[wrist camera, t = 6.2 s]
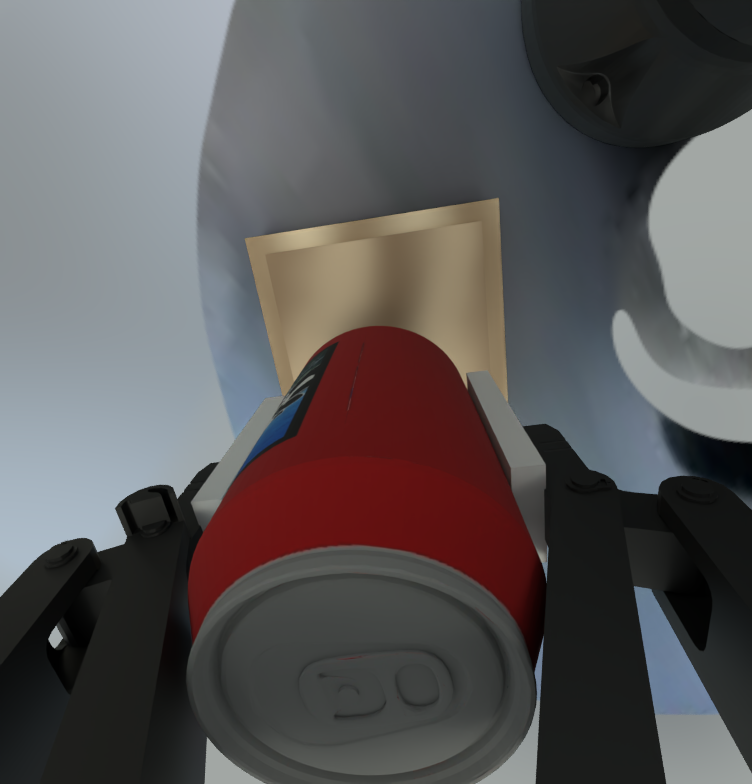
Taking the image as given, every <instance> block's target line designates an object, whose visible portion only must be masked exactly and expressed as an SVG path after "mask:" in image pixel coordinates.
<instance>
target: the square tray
mask: <svg viewBox="0 0 752 784" xmlns="http://www.w3.org/2000/svg"><path fill="white" fill-rule="evenodd" d="M245 242H246V246H247V250H248V254H249V258H250V262H251V267H252V271H253V275H254V279H255V283H256V287H257V292H258V296H259V300H260V304H261V308H262V312H263V316H264V321H265V325H266V329H267V333H268V337H269V341H270V346H271V350H272V354H273V358H274V362H275V366H276V371H277V375H278V379H279V383H280V387H281V391H282V396H286V394H287V393H288V391H289V389H290V388H291V386H292V385H293V383H294V382H295V380H296V379H297V377H298V376H299V374H300V372H301V371H302V369H303V368H304V366H305V365H306V363H307V362H308V361H309V359H310V358H311V357H312V356H313V354H314V353H315V352H316V351H317V350H318V349H319V348H320V347H322V346H323V345H324V344H325V343H327V342H328V341H330V340H331V339H333V338H335V337H336V336H338V335H340V334H342V333H345V332H347V331H350V330H353V329H357V328H361V327H368V326H392V327H397V328H402V329H406V330H409V331H412V332H415V333H417V334H419V335H421V336H423V337H425V338H427V339H428V340H430V341H431V342H433V343H434V344H436V345H437V346H438V347H439V348H440V349H442V350H443V351H444V352H445V353H446V354H447V355H448V357H449V358H450V359H451V360H452V362H453V363H454V365H455V366H456V368H457V370H458V372H459V373H460V375H461V378H462V380H463V382H464V384H465V386H466V388H467V376H466V373H469V372H477V371H485V370H488V372H489V373H490V375H491V377H492V378H493V380H494V381H495V383H496V385H497V386H498V388H499V390H500V391H501V393H502V394H503V396H504V398H505V399H506V401H507V403H508V394H507V371H506V349H505V327H504V305H503V282H502V260H501V238H500V216H499V198H496V199H489V200H483V201H477V202H470V203H464V204H458V205H452V206H445V207H439V208H433V209H427V210H420V211H414V212H408V213H401V214H395V215H389V216H383V217H376V218H370V219H364V220H358V221H351V222H345V223H339V224H332V225H326V226H320V227H314V228H307V229H301V230H295V231H289V232H282V233H276V234H270V235H263V236H257V237H251V238H245ZM467 390H468V389H467Z"/></svg>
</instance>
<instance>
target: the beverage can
mask: <svg viewBox="0 0 752 784" xmlns="http://www.w3.org/2000/svg"><path fill="white" fill-rule="evenodd" d="M546 588H547V583H546V576H545V573H544V569H543V566H542V563H541V560H540V558H539V555H538V553H537V551H536V548H535V546H534V543H533V541H532V538H531V536H530V534H529V531H528V529H527V526H526V524H525V522H524V519H523V517H522V514H521V512H520V510H519V507H518V505H517V502H516V500H515V498H514V495H513V493H512V490H511V488H510V485H509V483H508V481H507V478H506V476H505V474H504V471H503V469H502V467H501V464H500V462H499V460H498V457H497V455H496V453H495V450H494V448H493V446H492V443H491V441H490V439H489V437H488V434H487V432H486V430H485V427H484V425H483V423H482V421H481V419H480V416H479V414H478V412H477V410H476V407H475V405H474V403H473V401H472V399H471V396H470V394H469V392H468V390H467V388H466V386H465V384H464V382H463V380H462V378H461V375H460V373H459V372H458V370H457V368H456V366H455V365H454V363H453V362H452V360H451V359H450V358H449V357H448V355H447V354H446V353H445V352H444V351H443V350H442V349H440V348H439V347H438V346H437V345H436V344H434V343H433V342H431V341H430V340H428V339H427V338H425V337H423V336H421V335H419V334H417V333H415V332H412V331H409V330H406V329H402V328H397V327H392V326H368V327H361V328H357V329H353V330H350V331H347V332H345V333H342V334H340V335H338V336H336V337H335V338H333V339H331V340H330V341H328V342H327V343H325V344H324V345H323V346H322V347H320V348H319V349H318V350H317V351H316V352H315V353H314V354H313V356H312V357H311V358H310V359H309V361H308V362H307V363H306V365H305V366H304V368H303V369H302V371H301V372H300V374H299V376H298V377H297V379H296V380H295V382H294V383H293V385H292V386H291V388H290V389H289V391H288V393H287V394H286V396H285V397H284V399H283V400H282V402H281V404H280V405H279V407H278V408H277V410H276V411H275V413H274V415H273V416H272V418H271V420H270V421H269V423H268V425H267V426H266V428H265V429H264V431H263V433H262V434H261V436H260V438H259V439H258V441H257V443H256V444H255V446H254V447H253V449H252V451H251V452H250V454H249V456H248V457H247V459H246V461H245V462H244V464H243V466H242V467H241V469H240V471H239V472H238V474H237V476H236V478H235V479H234V481H233V483H232V484H231V486H230V488H229V489H228V491H227V493H226V495H225V496H224V498H223V500H222V501H221V503H220V505H219V506H218V508H217V510H216V512H215V513H214V515H213V517H212V518H211V520H210V522H209V523H208V525H207V527H206V529H205V530H204V532H203V534H202V536H201V538H200V540H199V541H198V544H197V546H196V549H195V551H194V554H193V558H192V561H191V565H190V572H189V579H188V606H189V616H190V626H191V636H192V648H191V652H190V655H189V659H188V665H187V676H186V684H187V692H188V697H189V701H190V705H191V708H192V711H193V713H194V715H195V717H196V719H197V721H198V723H199V725H200V727H201V728H202V730H203V732H204V733H205V734H206V736H207V737H208V738H209V739H210V741H211V742H212V743H213V744H214V746H215V747H216V748H217V749H218V750H219V751H220V752H221V753H222V754H223V755H224V756H225V757H227V758H228V759H229V760H230V761H231V762H233V763H234V764H235V765H236V766H238V767H239V768H241V769H242V770H243V771H245V772H247V773H248V774H250V775H251V776H253V777H255V778H257V779H258V780H260V781H262V782H264V783H266V784H475V783H477V782H479V781H481V780H482V779H484V778H485V777H487V776H488V775H490V774H491V773H493V772H494V771H495V770H497V769H498V768H499V767H500V766H501V765H502V764H503V763H505V762H506V761H507V760H508V759H509V758H510V757H511V756H512V754H514V752H515V751H516V750H517V748H518V747H519V745H520V744H521V742H522V741H523V740H524V738H525V736H526V734H527V732H528V730H529V728H530V726H531V723H532V720H533V716H534V712H535V708H536V699H537V688H536V679H535V674H534V672H535V668H536V664H537V660H538V656H539V652H540V648H541V644H542V640H543V636H544V624H545V606H546Z"/></svg>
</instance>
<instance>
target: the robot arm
mask: <svg viewBox="0 0 752 784" xmlns="http://www.w3.org/2000/svg"><path fill="white" fill-rule="evenodd" d="M522 27H523V35H524V41H525V46H526V51H527V55H528V58H529V62H530V65H531V68H532V71H533V73H534V75H535V78H536V80H537V82H538V84H539V86H540V88H541V90H542V92H543V93H544V95H545V96H546V98H547V100H548V101H549V102H550V104H551V105H552V106H553V108H554V109H555V110H556V111H557V112H558V113H559V114H560V115H561V116H562V117H563V118H564V119H565V120H566V121H567V122H568V123H569V124H571V125H572V126H573V127H574V128H576V129H577V130H579V131H580V132H582V133H584V134H586V135H588V136H589V137H591V138H594V139H596V140H599V141H601V142H604V143H608V144H611V145H616V146H622V147H634V148H641V147H654V146H660V145H665V144H670V143H673V142H677V141H681V140H684V139H688V138H691V137H695V136H698V135H701V134H704V133H707V132H709V131H712V130H714V129H716V128H719V127H721V126H723V125H725V124H727V123H728V122H731V121H732V120H734V119H736V118H738V117H740V116H741V115H743V114H745V113H746V112H748V111H749V110H751V109H752V0H522ZM466 376H467V389H468V392H469V394H470V396H471V399H472V401H473V403H474V405H475V407H476V410H477V412H478V414H479V416H480V419H481V421H482V423H483V425H484V427H485V430H486V432H487V434H488V437H489V439H490V441H491V443H492V446H493V448H494V450H495V453H496V455H497V457H498V460H499V462H500V464H501V467H502V469H503V471H504V474H505V476H506V478H507V481H508V483H509V485H510V488H511V490H512V493H513V495H514V498H515V500H516V502H517V505H518V507H519V510H520V512H521V514H522V517H523V519H524V522H525V524H526V526H527V529H528V531H529V534H530V536H531V538H532V541H533V543H534V546H535V548H536V551H537V553H538V555H539V558H540V560H541V562H547V545H548V547H549V552H548V570H547V588H546V606H545V624H544V642H543V661H542V679H541V697H540V715H539V716H540V717H539V733H538V751H537V769H536V784H666V779H665V773H664V767H663V761H662V755H661V749H660V743H659V737H658V731H657V725H656V719H655V713H654V707H653V701H652V695H651V689H650V683H649V676H648V670H647V664H646V658H645V652H644V646H643V640H642V634H641V628H640V622H639V616H638V610H637V604H636V598H635V592H634V586H637V587H643V588H650V589H652V592H653V594H654V596H655V598H656V599H657V601H658V603H659V605H660V607H661V609H662V610H663V612H664V614H665V616H666V618H667V620H668V621H669V623H670V625H671V627H672V629H673V630H674V632H675V634H676V636H677V638H678V640H679V641H680V643H681V645H682V647H683V649H684V650H685V652H686V654H687V656H688V658H689V660H690V661H691V663H692V665H693V667H694V669H695V670H696V672H697V674H698V676H699V678H700V680H701V681H702V683H703V685H704V687H705V689H706V691H707V692H708V694H709V696H710V698H711V700H712V701H713V703H714V705H715V707H716V709H717V711H718V712H719V714H720V716H721V718H722V720H723V721H724V723H725V725H726V727H727V729H728V730H729V732H730V734H731V736H732V738H733V739H734V741H735V743H736V745H737V747H738V749H739V750H740V752H741V754H742V756H743V758H744V760H745V761H746V763H747V765H748V767H749V769H750V770H751V772H752V510H751V509H750V508H749V507H748V506H747V505H746V504H745V503H744V502H743V501H742V500H741V499H740V498H739V497H738V496H737V495H736V494H735V493H733V492H732V491H731V490H729V489H728V488H727V487H725V486H724V485H722V484H719V483H717V482H714V481H712V480H709V479H706V478H700V477H696V476H677V477H670V478H668V479H666V480H664V481H662V482H661V484H660V486H659V491H658V495H657V494H645V493H634V492H627V491H622V490H618V489H617V486H616V484H615V482H614V481H613V480H612V479H611V478H609V477H608V476H606V475H604V474H602V473H599V472H596V471H592V470H589V469H588V468H587V467H586V465H585V464H584V463H583V461H582V460H581V459H580V458H579V456H578V455H577V454H576V452H575V451H574V450H573V449H571V446H570V445H569V443H568V442H567V441H566V440H565V438H564V437H563V436H562V434H561V433H560V432H559V431H558V430H556V429H554V428H552V427H551V426H549V425H547V424H539V425H531V426H522V425H521V424H520V422H519V420H518V419H517V417H516V415H515V414H514V412H513V411H512V409H511V407H510V406H509V404H508V403H507V401H506V399H505V398H504V396H503V394H502V393H501V391H500V390H499V388H498V386H497V385H496V383H495V381H494V380H493V378H492V377H491V375H490V373H489V372H488V370H485V371H477V372H469V373H466ZM284 397H285V396H278V397H270V398H265V400H264V401H263V402H262V404H261V405H260V406H259V408H258V409H257V411H256V412H255V413H254V415H253V416H252V418H251V419H250V420H249V422H248V423H247V425H246V426H245V427H244V429H243V430H242V432H241V433H240V434H239V436H238V437H237V438H236V440H235V441H234V443H233V444H232V446H231V447H230V448H229V450H228V451H227V452H226V454H225V455H224V457H223V458H222V459H221V461H220V462H217V463H210V464H209V465H208V466H206V467H205V468H204V469H202V470H201V471H199V472H198V473H197V474H196V476H195V477H194V478H193V480H192V481H191V482H190V483H191V484H189V485H188V486H187V487H186V489H185V490H184V492H183V493H182V494H181V495H180V496H179V498H178V499H177V497H176V494H175V492H174V489H173V487H171V486H169V485H156V486H150V487H147V488H144V489H141V490H138V491H137V492H135V493H133V494H131V495H129V496H127V497H126V498H125V499H123V500H122V501H121V502H120V503H119V504H118V505H117V507H116V508H115V509H116V511H117V514H118V516H119V519H120V521H121V524H122V526H123V528H124V531H125V533H126V535H127V539H126V542H125V544H123V545H120V546H116V547H113V548H110V549H106V550H103V551H100V552H97V550H96V548H95V546H94V544H93V542H92V540H90V539H87V538H77V539H74V540H70V541H65V542H62V543H61V544H57V545H55V546H53V547H52V548H51V549H50V550H48V551H46V552H45V553H43V554H42V555H41V556H39V557H38V558H37V559H36V560H35V561H34V562H33V563H32V564H31V565H30V566H29V567H28V568H27V569H26V570H25V571H24V572H23V573H22V574H21V576H20V577H19V578H18V579H17V580H16V581H15V582H14V583H13V584H12V585H11V586H10V587H9V588H8V589H7V590H6V592H5V593H4V594H3V595H2V596H1V597H0V784H204V782H205V762H206V742H207V736H206V734H205V733H204V732H203V730H202V728H201V727H200V725H199V723H198V721H197V719H196V717H195V715H194V713H193V711H192V708H191V705H190V701H189V697H188V692H187V684H186V676H187V665H188V659H189V655H190V652H191V648H192V636H191V626H190V616H189V606H188V579H189V572H190V565H191V561H192V558H193V554H194V551H195V549H196V546H197V544H198V541H199V540H200V538H201V536H202V534H203V532H204V530H205V529H206V527H207V525H208V523H209V522H210V520H211V518H212V517H213V515H214V513H215V512H216V510H217V508H218V506H219V505H220V503H221V501H222V500H223V498H224V496H225V495H226V493H227V491H228V489H229V488H230V486H231V484H232V483H233V481H234V479H235V478H236V476H237V474H238V472H239V471H240V469H241V467H242V466H243V464H244V462H245V461H246V459H247V457H248V456H249V454H250V452H251V451H252V449H253V447H254V446H255V444H256V443H257V441H258V439H259V438H260V436H261V434H262V433H263V431H264V429H265V428H266V426H267V425H268V423H269V421H270V420H271V418H272V416H273V415H274V413H275V411H276V410H277V408H278V407H279V405H280V404H281V402H282V400H283V399H284ZM55 626H57V628H58V630H59V632H60V633H61V635H62V637H63V639H62V640H61V642H60V643H59V645H58V646H57V647H56V648H55V649H54V648H53V647H52V646H51V644H50V642H49V640H48V638H49V636H50V634H51V632H52V631H53V629H54V628H55Z"/></svg>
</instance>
